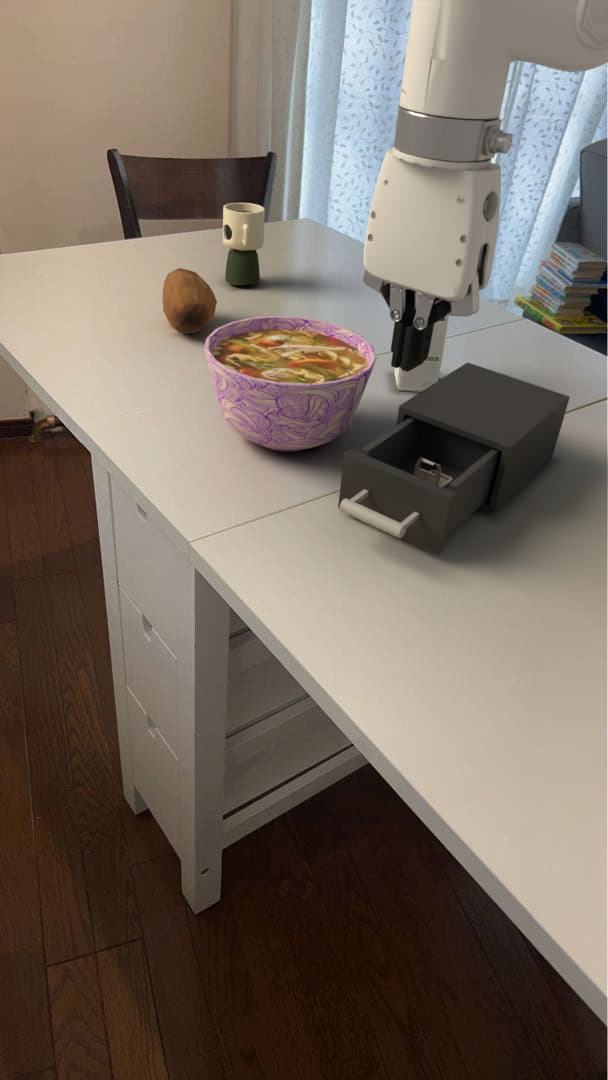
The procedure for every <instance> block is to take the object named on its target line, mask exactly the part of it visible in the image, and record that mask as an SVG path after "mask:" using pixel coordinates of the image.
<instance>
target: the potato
mask: <svg viewBox="0 0 608 1080" xmlns="http://www.w3.org/2000/svg"><path fill="white" fill-rule="evenodd" d="M217 303H218V301H217V298H216V295H215V293H214V291H213V289H212V288H211V286H210V285H209V283H207V282H206V281H205V279H204V278H202V277H201V276H200V275H199V274H198V273H197V272H195V271H193V270H190V269H186V268H177V269H174V270H172V271H170V272H168V273H167V274H166V277H165V280H164V282H163V287H162V309H163V313H164V315H165V318H166V319H167V322H168V324H169V325H170V327H171V328H173V329H174V330H175V331H177V332H179V333H182V334H187V335H188V334H192V333H196V332H200V331H201V329H204V327H206V326H207V325H208V324H209V323H210V322H211V320H212V319H213V317H214V316H215V313H216V308H217Z"/></svg>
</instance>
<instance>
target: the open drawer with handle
mask: <svg viewBox="0 0 608 1080" xmlns="http://www.w3.org/2000/svg"><path fill="white" fill-rule="evenodd" d="M396 425H397V424H396ZM396 425H395V426H394V427H393V428H391V429H389V430H388V431H386V432H385V433H384V434H382V435H380V437H379V436H378V438H376V439H374V440H373V441H372V442H370V443H368V444H367V445H366V446H364V447H363V448H362V452H360V451H357V450H355V449H352V448H350V449H348V450H346V451H345V452H344V453H343V461H342V469H341V479H340V487H339V495H338V505H337V508H338V509H339V511H340V512H342V513H344V514H347V515H348V516H350V517H352V518H355V519H357V520H359V521H361V522H364V523H366V524H368V525H369V526H372V527H374V528H376V529H379V530H381V531H383V532H385V533H388V534H389V535H391V536H394V537H396V538H398V539H405V540H407V541H408V542H411V543H413V544H416V545H418V546H420V547H422V548H423V549H426V550H428V551H431V552H433V553H435V554H437V555H441V554H442V553H443V552H444V551H445V549H446V545H447V540H448V537H449V535H451V534H452V533H453V532H455V530H456V529H457V528H458V527H459V526H461V525H462V524H463V523H464V522H465V521H466V520H467V519H468V518H469V517H470V516H472V514H474V513H475V512H476V511H477V510H479V509H478V508H479V507H480V506H481V505H482V504H483V503H484V502H485V501H486V500H488V499H489V498H490V497H491V496H492V492H493V488H494V484H495V480H496V476H497V471H498V467H499V463H500V459H501V455H502V451H500V450H497V449H495V448H492V447H489V446H487V445H484V444H481V443H479V442H476V441H474V440H471V439H468V438H466V437H463V436H461V435H458V434H455V433H453V432H450V431H447V430H445V429H442V428H440V427H437V426H434V425H432V424H429V423H427V422H424V421H421V420H419V419H416V418H413V417H409V418H408V419H406V420H405V421H403V422H402V423H400V424H399V425H397V426H396ZM419 458H424V459H426V460H429V461H431V462H434V463H436V464H439V465H440V466H441V473H443V474H445V475H448V476H450V477H452V478H453V482H452V483H450V485H449V489H445V488H443V487H441V486H438V485H436V484H433V483H431V482H429V481H426V480H424V479H421V478H419V477H417V476H414V475H413V474H414V468H415V465H416V463H417V460H418V459H419ZM420 468H421V469H423V470H426V471H431V470H436V471H437V468H436V467H434V466H432V465H429V464H427V463H425V462H422V461H421V464H420Z"/></svg>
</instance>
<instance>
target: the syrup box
mask: <svg viewBox="0 0 608 1080" xmlns="http://www.w3.org/2000/svg"><path fill="white" fill-rule="evenodd" d="M421 295H422V293H420V292H418V304H419V301H420V298H421ZM449 317H450V315H447V316H445V317H444V318H442V319H441V320H440V321H438V322H436V323H435V324H434V328H433V333H432V339H431V344H430V350H429V355H428V357H427V359H426V360H425V361H424V362H423V363H422V364H421V365H419V366H417V367H416V368H414V369H412V370H410V371H408V372H406V371H403V370H402V369H401V368H400V367H399V368H395V367H394V370H393V376H394V380H395V384H396V389H397V390H398V391H405V392H414V393H415V392H417V393H420V392H422V391H423V390H425V389H426V388H428V387H429V386H431V385H433V384H434V383H436V382H437V381H439V378H440V372H441V366H442V360H443V354H444V349H445V341H446V337H447V330H448V329H447V328H448V323H449Z"/></svg>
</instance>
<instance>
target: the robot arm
mask: <svg viewBox="0 0 608 1080" xmlns="http://www.w3.org/2000/svg"><path fill="white" fill-rule="evenodd" d="M409 19H410V20H409V25H408V34H407V41H406V49H405V57H404V63H403V72H402V81H401V89H400V97H399V103H398V105H399V106H398V112H397V116H396V117H397V119H396V125H395V132H394V133H395V134H394V142H393V147H392V148H389V149H387V150H386V152H385V155H384V158H383V161H382V164H381V166H380V169H379V173H378V176H377V179H376V182H375V183H376V184H375V187H374V191H373V194H372V198H371V199H372V200H371V204H370V207H369V208H370V209H369V214H368V218H367V224H366V230H365V236H364V237H365V238H364V245H363V257H362V258H363V259H362V260H363V268H364V269H365V271H364V274H363V277H362V282H363V284H365V285H366V286H368V287H369V288H370V289H372V290H373V291H375V292H377V293H378V294H381V296H382V298H383V300H384V301H385V303H386V305H387V306H388V309H389V317H390V319H391V321H392V322H394V324H393V332H392V338H391V344H390V352H391V353H392V356H391V362H390V365H391V368H394V369H395V368H399V367H400V368H401V369H402V370H403V371H406V372H408V371H410V370H412V369H414V368H416V367H417V366H419V365H421V364H422V363H423V362H424V361H425V360H426V359H427V357H428V355H429V350H430V344H431V339H432V333H433V328H434V324H435V323H436V322H438V321H440V320H441V319H442V318H444V317H445V316H447V315H449V316H450V317H466V318H467V317H471V316H473V315H475V314H477V313H478V312H479V310H480V291H481V290H484V289H486V287H487V286H488V284H489V280H490V278H491V274H492V269H493V265H494V258H495V253H496V245H497V239H498V230H499V222H500V221H499V220H500V209H501V208H500V207H501V191H502V167H501V165H500V164H497V163H494V162H492V159H493V158H495V156H496V155H497V154H498V153H499V154H504V155H505V154H508V153H509V152H510V150H511V148H512V144H513V138H514V137H513V135H512V133H509V132H504V130H503V129H501V126H502V122H503V120H502V119H501V112H502V108H503V102H504V98H505V92H506V87H507V82H508V78H509V73H510V68H511V64H512V63H513V62H516V61H517V62H524V63H529V64H535V65H538V66H541V67H545V68H549V69H552V70H557V71H561V72H566V73H579V72H586V71H590V70H593V69H596V68H599V67H601V66H604V65H606V64H608V0H412V3H411V12H410V18H409ZM418 292H420V293H422V295H421V298H420V301H419V304H418Z"/></svg>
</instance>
